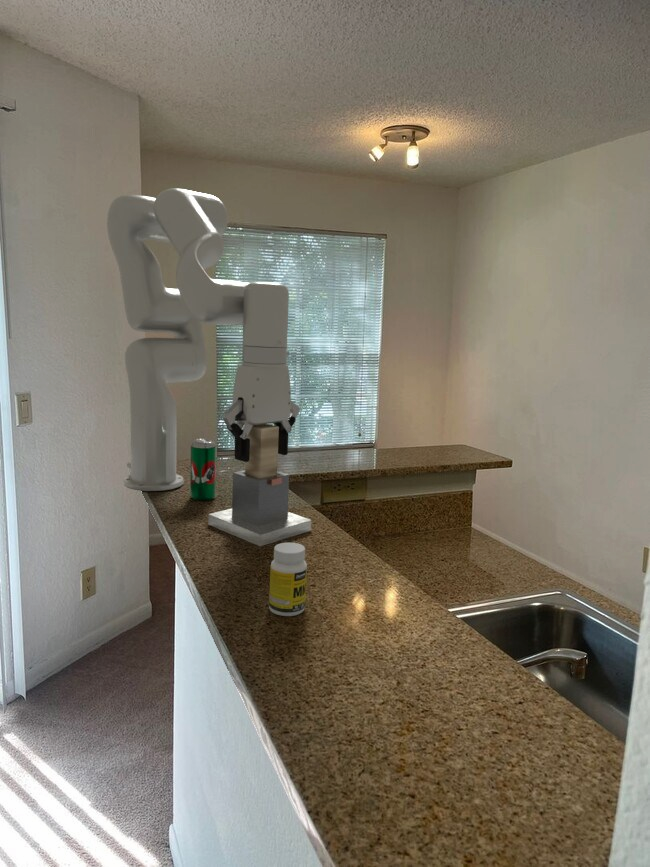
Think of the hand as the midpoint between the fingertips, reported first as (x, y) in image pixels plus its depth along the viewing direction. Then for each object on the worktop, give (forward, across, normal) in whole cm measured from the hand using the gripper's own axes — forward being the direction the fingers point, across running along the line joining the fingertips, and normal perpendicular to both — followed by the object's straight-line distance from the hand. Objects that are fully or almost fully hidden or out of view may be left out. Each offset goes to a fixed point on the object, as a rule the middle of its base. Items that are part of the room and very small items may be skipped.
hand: (261, 456), depth 109 cm
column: (+11, 0, 0) cm, 11 cm away
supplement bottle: (+13, +18, +26) cm, 34 cm away
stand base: (+13, 0, 0) cm, 13 cm away
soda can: (+13, -3, -21) cm, 25 cm away
